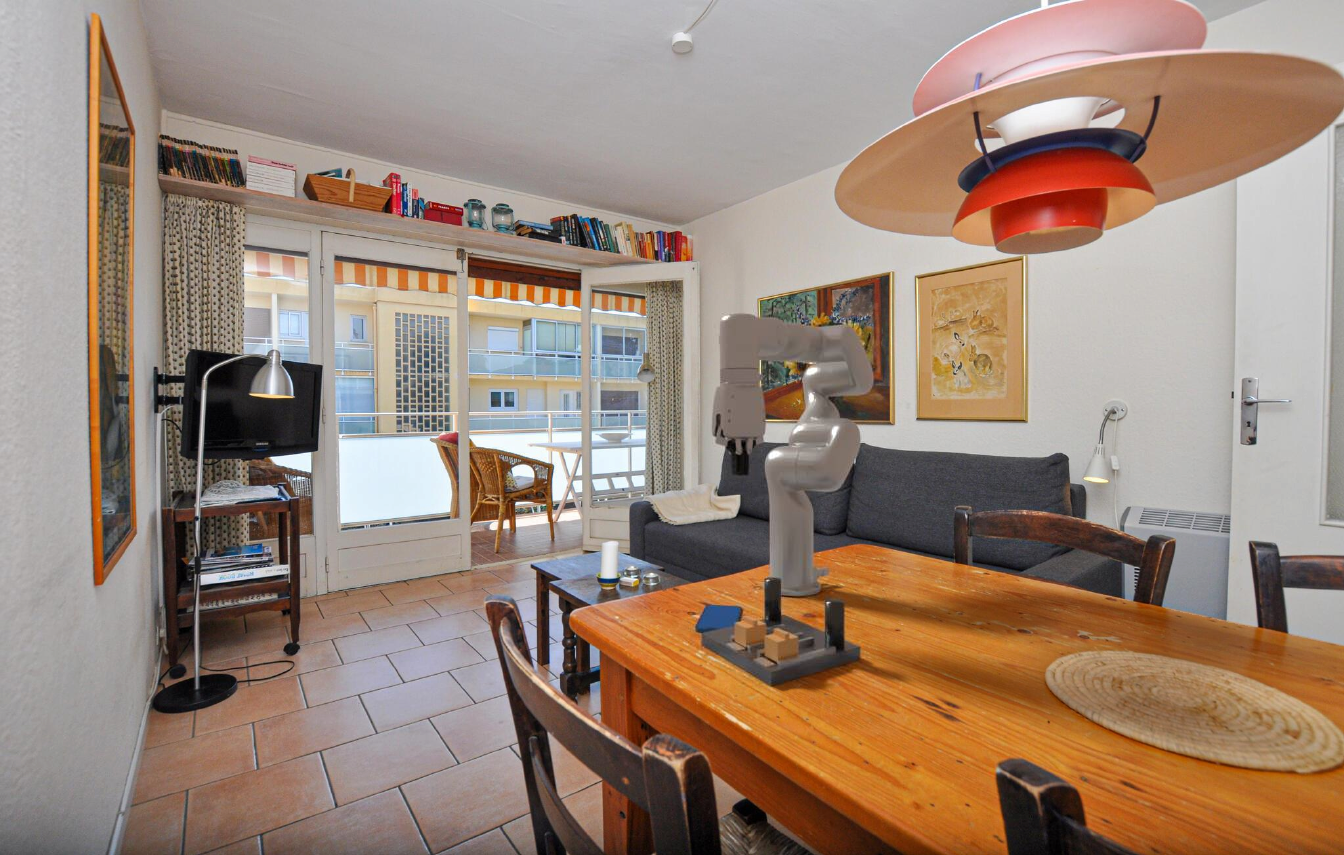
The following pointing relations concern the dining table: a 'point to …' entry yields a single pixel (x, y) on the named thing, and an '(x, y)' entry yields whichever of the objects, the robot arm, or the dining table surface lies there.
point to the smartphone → (718, 617)
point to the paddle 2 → (781, 645)
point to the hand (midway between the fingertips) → (740, 474)
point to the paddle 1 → (749, 631)
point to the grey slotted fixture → (812, 643)
